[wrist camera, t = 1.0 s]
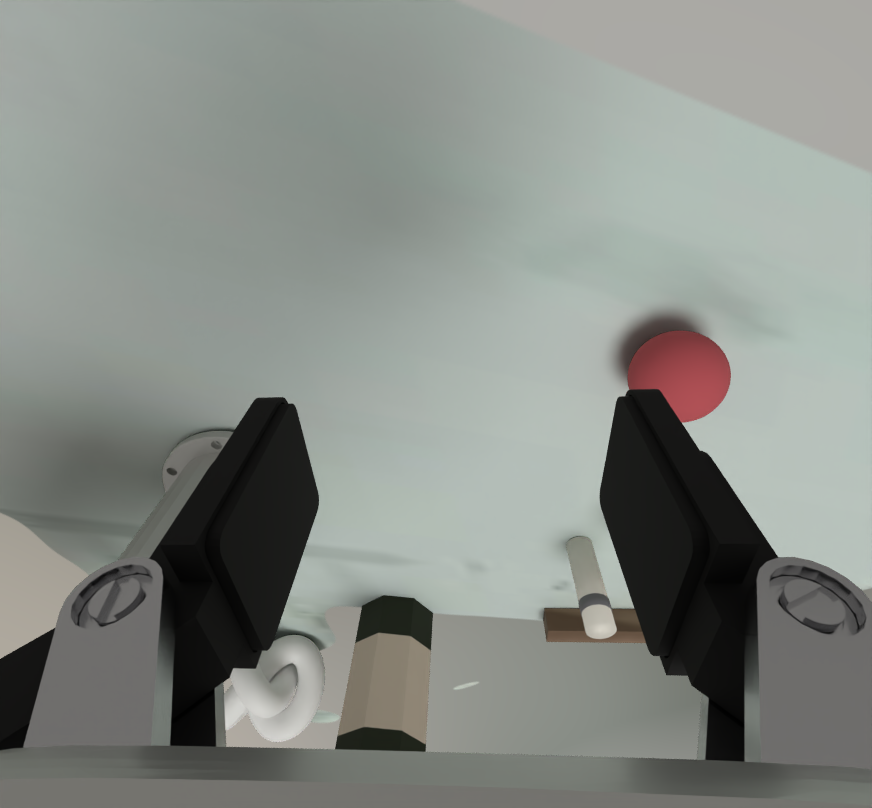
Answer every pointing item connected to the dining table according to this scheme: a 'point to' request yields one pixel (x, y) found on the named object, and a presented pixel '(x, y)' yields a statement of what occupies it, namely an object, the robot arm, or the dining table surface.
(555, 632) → the back wall
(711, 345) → the ball
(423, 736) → the wine bottle
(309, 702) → the white knot
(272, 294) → the dining table surface
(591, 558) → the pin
